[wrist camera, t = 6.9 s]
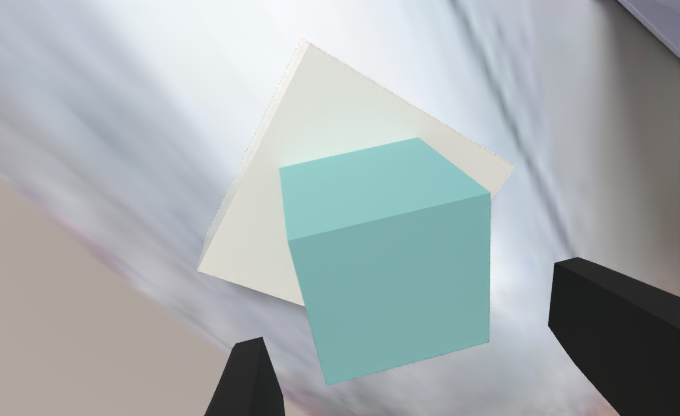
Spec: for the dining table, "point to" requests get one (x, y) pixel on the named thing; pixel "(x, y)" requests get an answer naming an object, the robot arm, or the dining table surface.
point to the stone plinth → (311, 144)
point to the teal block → (388, 256)
